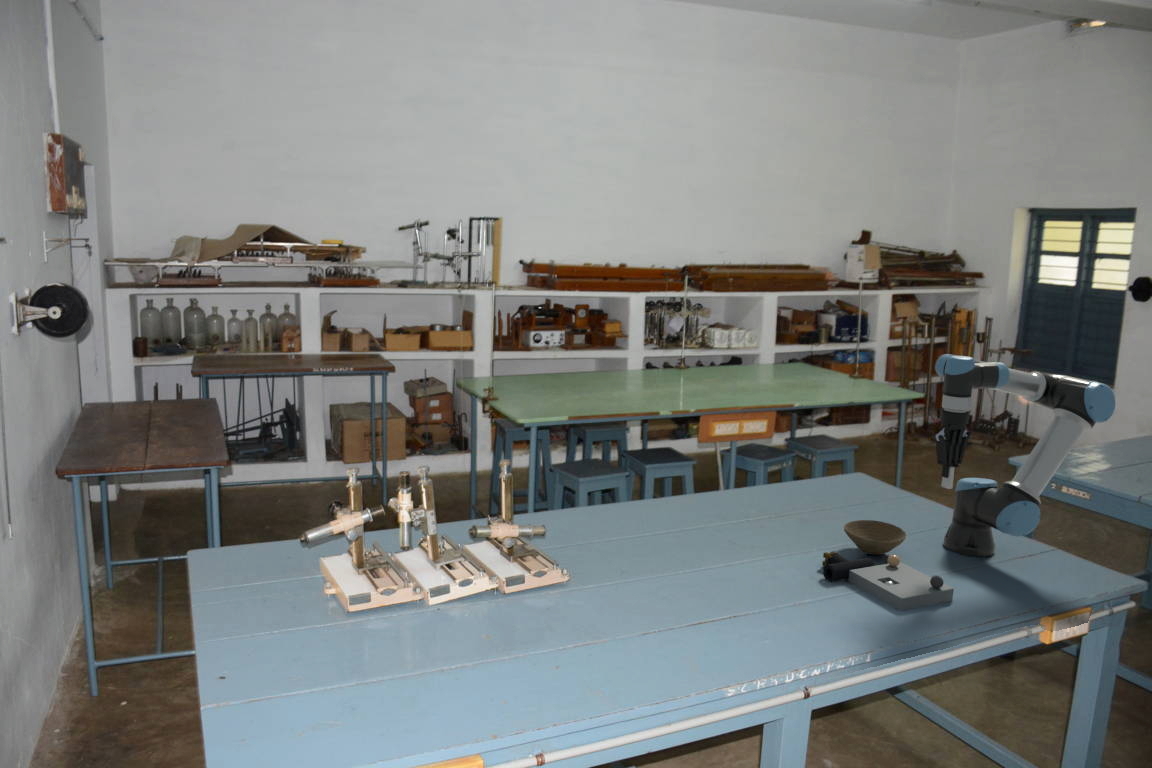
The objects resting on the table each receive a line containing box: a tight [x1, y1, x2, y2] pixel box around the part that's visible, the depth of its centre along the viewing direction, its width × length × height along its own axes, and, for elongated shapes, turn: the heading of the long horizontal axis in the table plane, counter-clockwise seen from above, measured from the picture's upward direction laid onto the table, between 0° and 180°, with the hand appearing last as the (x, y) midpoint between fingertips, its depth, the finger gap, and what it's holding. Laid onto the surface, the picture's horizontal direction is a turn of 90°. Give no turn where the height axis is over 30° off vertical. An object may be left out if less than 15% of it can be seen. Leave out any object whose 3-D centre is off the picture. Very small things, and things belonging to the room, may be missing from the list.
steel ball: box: [884, 581, 894, 586], centre depth 240 cm, size 3×3×3 cm
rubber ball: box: [930, 575, 945, 589], centre depth 236 cm, size 3×3×3 cm
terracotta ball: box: [887, 554, 901, 567], centre depth 250 cm, size 3×3×3 cm
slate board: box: [847, 561, 955, 612], centre depth 241 cm, size 19×20×4 cm
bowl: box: [843, 519, 907, 556], centre depth 269 cm, size 18×18×8 cm
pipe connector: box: [821, 550, 876, 583], centre depth 252 cm, size 12×5×15 cm
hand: (946, 487), depth 253 cm, fingers closed
